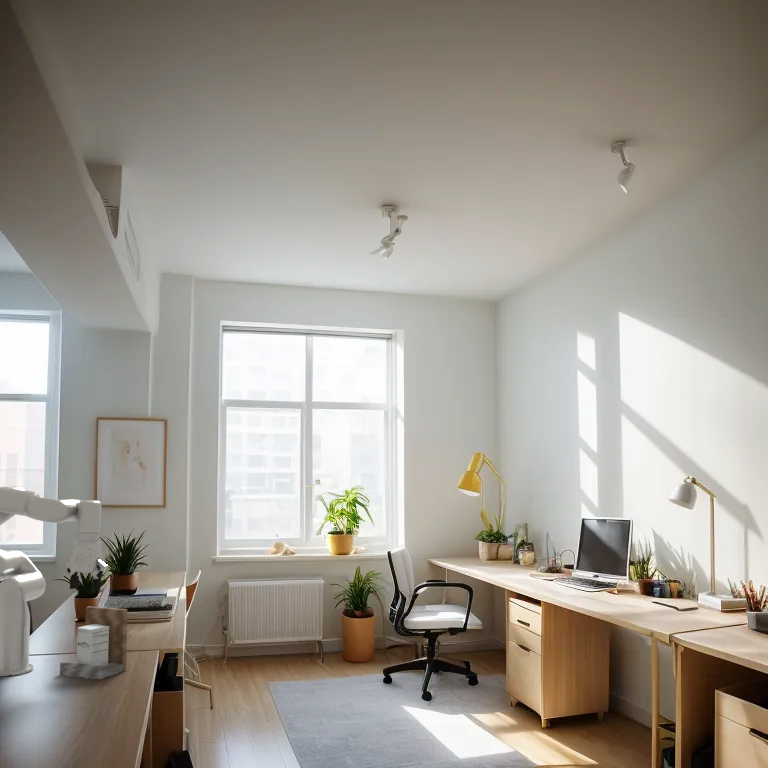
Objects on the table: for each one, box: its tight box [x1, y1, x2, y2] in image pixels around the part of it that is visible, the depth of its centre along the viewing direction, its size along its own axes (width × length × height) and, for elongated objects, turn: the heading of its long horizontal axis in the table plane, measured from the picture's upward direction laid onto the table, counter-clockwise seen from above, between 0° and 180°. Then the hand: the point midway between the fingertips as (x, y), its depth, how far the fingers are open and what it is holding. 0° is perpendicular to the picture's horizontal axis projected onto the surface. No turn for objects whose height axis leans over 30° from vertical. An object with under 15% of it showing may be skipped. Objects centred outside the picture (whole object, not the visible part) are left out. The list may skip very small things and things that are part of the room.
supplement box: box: [76, 624, 109, 666], centre depth 252 cm, size 7×7×13 cm
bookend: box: [59, 605, 128, 680], centre depth 253 cm, size 17×12×20 cm
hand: (85, 589), depth 254 cm, fingers open, 9 cm apart
